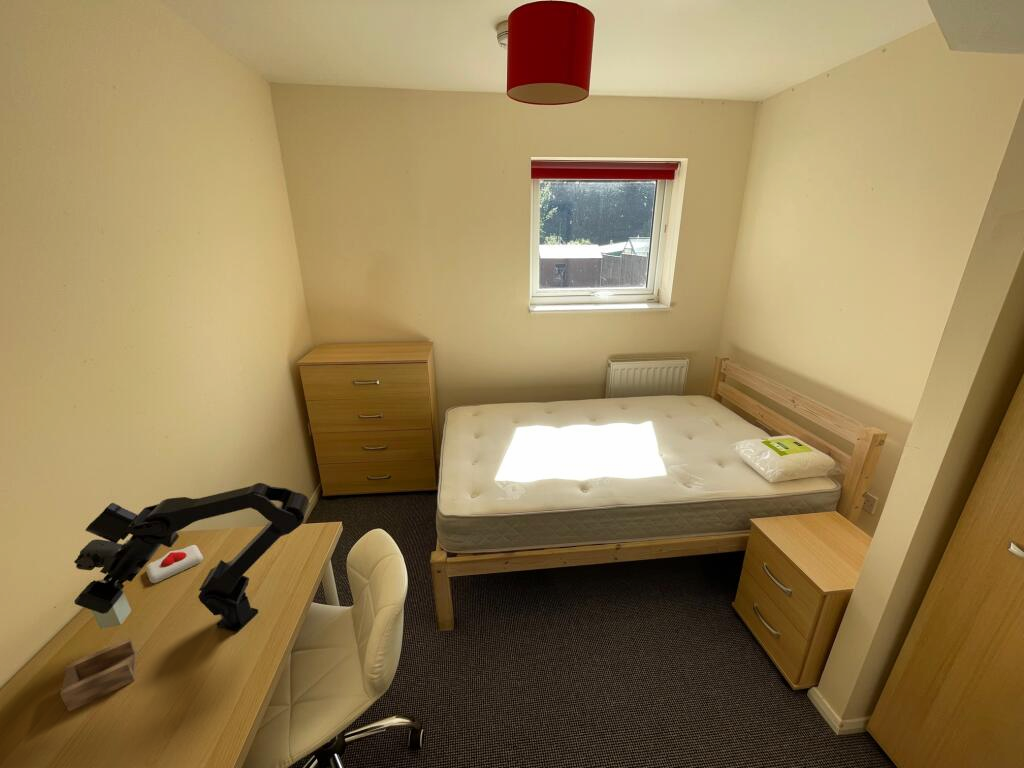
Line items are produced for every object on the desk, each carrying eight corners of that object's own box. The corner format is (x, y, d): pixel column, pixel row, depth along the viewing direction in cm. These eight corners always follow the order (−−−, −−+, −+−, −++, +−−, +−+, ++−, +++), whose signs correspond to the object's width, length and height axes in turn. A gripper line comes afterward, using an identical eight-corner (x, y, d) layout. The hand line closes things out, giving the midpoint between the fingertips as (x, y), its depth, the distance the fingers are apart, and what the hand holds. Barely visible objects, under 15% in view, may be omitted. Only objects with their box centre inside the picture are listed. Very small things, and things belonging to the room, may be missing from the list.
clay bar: (131, 610, 99) (116, 576, 95) (120, 624, 95) (105, 590, 92) (111, 614, 98) (95, 580, 95) (100, 629, 94) (83, 594, 91)
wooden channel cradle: (136, 653, 96) (129, 637, 94) (134, 680, 90) (127, 664, 88) (75, 680, 90) (67, 664, 88) (69, 711, 84) (60, 694, 82)
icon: (192, 535, 128) (201, 550, 122) (196, 547, 130) (205, 562, 123) (141, 557, 120) (147, 574, 113) (145, 569, 121) (152, 587, 115)
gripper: (126, 506, 98) (87, 554, 99) (68, 562, 81) (22, 619, 82) (175, 528, 102) (137, 573, 104) (129, 586, 85) (84, 640, 86)
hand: (98, 598), depth 94 cm, fingers closed on clay bar, 4 cm apart
